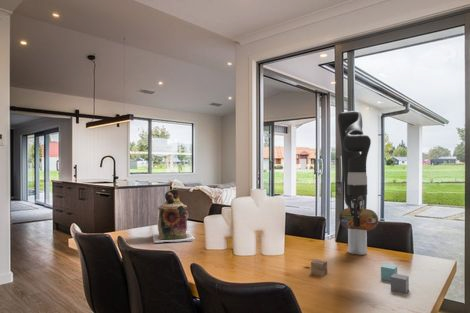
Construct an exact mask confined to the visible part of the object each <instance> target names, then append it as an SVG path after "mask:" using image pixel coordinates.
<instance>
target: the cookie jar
mask: <svg viewBox="0 0 470 313" xmlns="http://www.w3.org/2000/svg"><path fill="white" fill-rule="evenodd" d="M164 198H165V202H164V203H162V204H161V205H159V206H157V209H158V211H159V212H158V221H157V231H158V233H152V240H153V243H154V244H158V243H160V244H161V243H165V242H166V243H167V242H168V243H178V242H192V241H194V240H195V237H194V236H193V235H192V233H191V231H190V230H188V219H189V211H188V210H187V208H188V206H187V205H186V204H184V203H183V202H182V201H181V200H180V193H179V187H177V188H176V189H175V188H174V189H170V190H168V191H167V192H166V193H165V194H164Z"/></svg>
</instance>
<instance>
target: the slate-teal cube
mask: <svg viewBox="0 0 470 313" xmlns="http://www.w3.org/2000/svg"><path fill="white" fill-rule="evenodd" d="M393 274H398V266H397V265H394V264H387V263H383V264H382V265H381V266H380V279H381V280H385V281H389V282H391V276H392V275H393Z"/></svg>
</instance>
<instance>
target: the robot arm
mask: <svg viewBox="0 0 470 313" xmlns="http://www.w3.org/2000/svg"><path fill="white" fill-rule="evenodd" d="M337 122H338V130H339V131H338V132H339V137H340V146H341V162H342V163H341V164H342V169H343V170H342V171H343V179H344V180H343V182H344V184H343V185H344V187H343V188H344V203H345V205H346V206H347V207H349V208H350V212H351V216H353V223H354V227H359V226H360V218H359V217H360V212H361V209H367V203H368V202H367V200H368V176H367V160H368V155H369V151H370V148H371V143H372V141H371V138H370V136H369V135H367V134H364V132H363V116H362V113H361V112H360V111H359V110H350V111H349V110H348V111H343V112H339V113H338V116H337ZM357 209H358V210H357ZM355 212H356V213H355ZM367 239H368V235H367V230H358V229H348V228H347V243H348V244H347V252H348V253H349V254H353V255H367V253H368V248H367V247H368V242H367V241H368V240H367Z"/></svg>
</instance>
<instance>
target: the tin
mask: <svg viewBox="0 0 470 313" xmlns="http://www.w3.org/2000/svg"><path fill="white" fill-rule="evenodd" d="M357 210H358V209H357ZM355 213H356V212H355ZM359 218H360V226H359V227H354V223H353V216H351V212H350V207H348V208H347V207H346V208H344V209H342V210H341V211H340V213H339V218H338V220H339V223H340V224H341V225H342V227H343V228H345V229H347V230H348V229H358V230H367V231H368V232H369V231H372V230H374V229H375V228H377V226H378V224H379V217H378V214H377V213H376V212H375V211H373V210H372V209H370V208H369V209H367V208H366V209H361V212H360V217H359Z"/></svg>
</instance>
